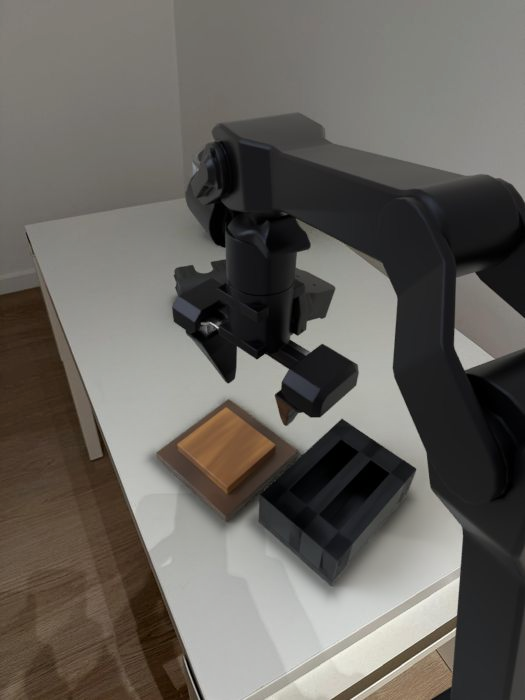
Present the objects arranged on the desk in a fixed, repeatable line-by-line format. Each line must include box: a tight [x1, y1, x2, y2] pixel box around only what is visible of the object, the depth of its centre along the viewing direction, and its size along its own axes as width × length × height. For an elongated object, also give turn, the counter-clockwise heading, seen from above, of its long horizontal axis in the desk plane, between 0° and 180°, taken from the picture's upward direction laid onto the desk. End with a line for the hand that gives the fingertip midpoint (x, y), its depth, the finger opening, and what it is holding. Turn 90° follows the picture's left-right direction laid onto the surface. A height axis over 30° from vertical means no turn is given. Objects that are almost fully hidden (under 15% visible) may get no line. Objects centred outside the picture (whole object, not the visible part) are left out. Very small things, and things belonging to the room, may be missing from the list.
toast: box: [177, 407, 276, 494], centre depth 61 cm, size 1×8×8 cm
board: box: [155, 399, 299, 523], centre depth 62 cm, size 12×12×1 cm
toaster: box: [258, 418, 418, 587], centre depth 56 cm, size 10×15×6 cm, turn 137°
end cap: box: [173, 258, 227, 297], centre depth 82 cm, size 10×7×7 cm
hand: (258, 401), depth 53 cm, fingers open, 8 cm apart
